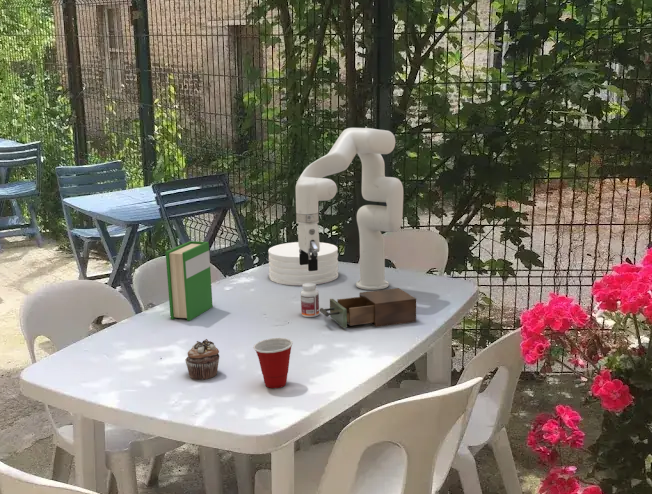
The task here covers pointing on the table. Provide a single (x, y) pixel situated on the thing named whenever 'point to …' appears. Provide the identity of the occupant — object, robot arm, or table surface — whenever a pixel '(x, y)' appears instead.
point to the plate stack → (292, 273)
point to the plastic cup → (274, 360)
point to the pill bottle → (309, 300)
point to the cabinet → (391, 306)
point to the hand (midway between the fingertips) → (308, 267)
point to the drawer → (351, 311)
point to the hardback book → (189, 280)
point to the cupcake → (203, 360)
